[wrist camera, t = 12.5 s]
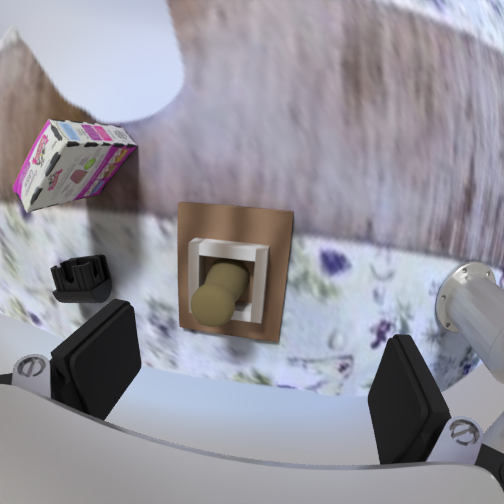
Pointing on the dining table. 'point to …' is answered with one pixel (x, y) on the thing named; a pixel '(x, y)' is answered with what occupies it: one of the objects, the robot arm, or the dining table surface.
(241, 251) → the socket board
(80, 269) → the end cap
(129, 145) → the candy bar box
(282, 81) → the dining table surface
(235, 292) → the cork
